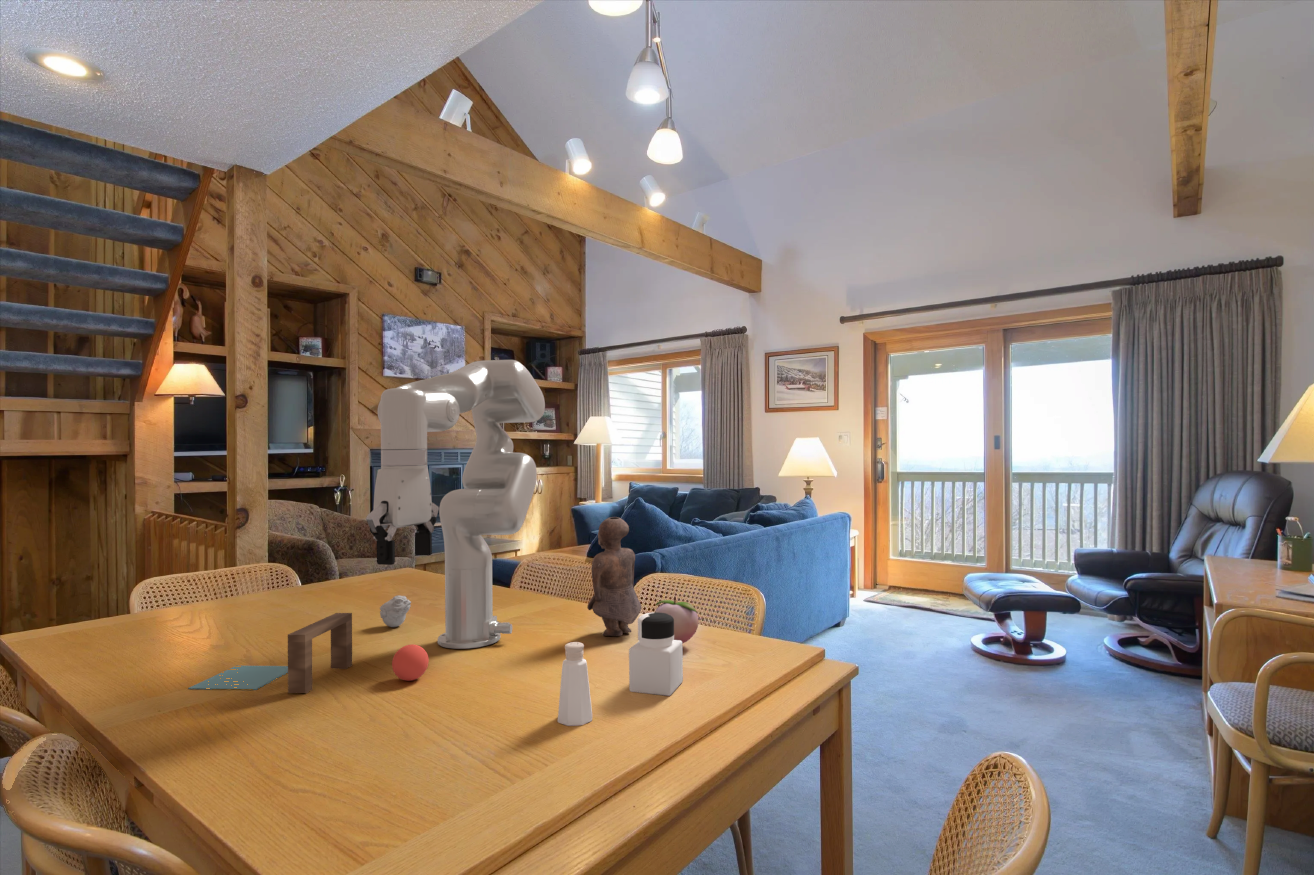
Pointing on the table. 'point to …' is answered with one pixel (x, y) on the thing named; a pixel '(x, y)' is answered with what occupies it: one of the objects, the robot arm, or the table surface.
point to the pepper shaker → (574, 688)
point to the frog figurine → (395, 611)
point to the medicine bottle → (655, 656)
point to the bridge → (303, 649)
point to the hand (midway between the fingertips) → (405, 559)
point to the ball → (410, 662)
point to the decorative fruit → (680, 618)
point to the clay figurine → (614, 580)
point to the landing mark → (243, 677)
